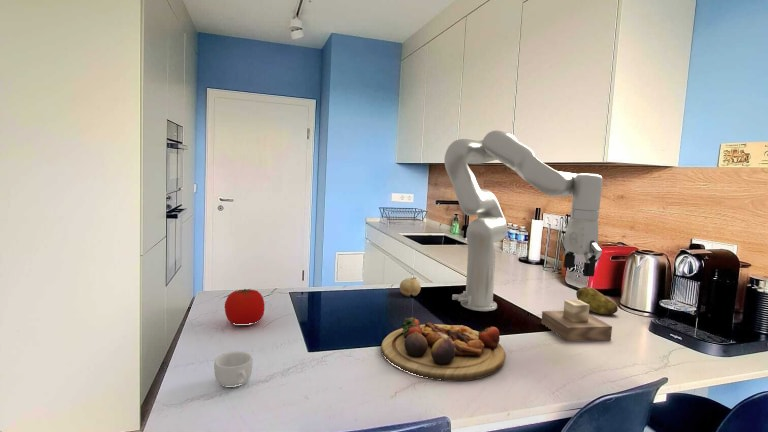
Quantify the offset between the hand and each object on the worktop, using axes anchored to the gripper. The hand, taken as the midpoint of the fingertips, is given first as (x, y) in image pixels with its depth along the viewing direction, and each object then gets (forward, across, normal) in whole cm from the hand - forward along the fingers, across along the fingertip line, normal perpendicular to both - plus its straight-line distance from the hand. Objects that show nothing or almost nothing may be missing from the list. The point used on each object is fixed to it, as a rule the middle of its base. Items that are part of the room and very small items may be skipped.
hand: (578, 271), depth 127 cm
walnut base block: (+18, +1, +1) cm, 19 cm away
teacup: (+20, +25, -94) cm, 100 cm away
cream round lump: (+20, -38, -42) cm, 61 cm away
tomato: (+20, -11, -98) cm, 101 cm away
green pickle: (+19, -16, +20) cm, 32 cm away
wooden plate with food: (+20, +12, -45) cm, 50 cm away
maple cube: (+14, 0, 0) cm, 15 cm away
